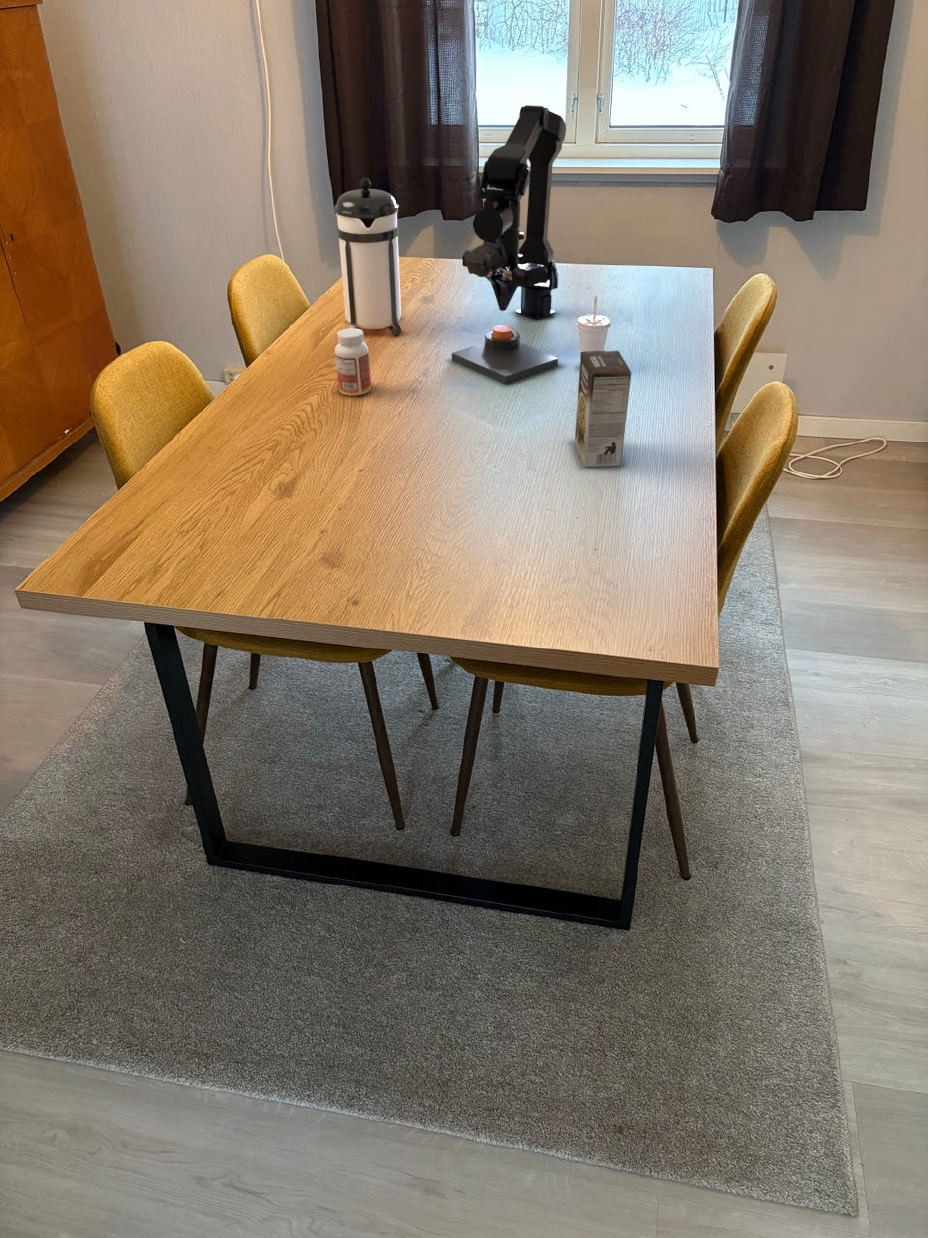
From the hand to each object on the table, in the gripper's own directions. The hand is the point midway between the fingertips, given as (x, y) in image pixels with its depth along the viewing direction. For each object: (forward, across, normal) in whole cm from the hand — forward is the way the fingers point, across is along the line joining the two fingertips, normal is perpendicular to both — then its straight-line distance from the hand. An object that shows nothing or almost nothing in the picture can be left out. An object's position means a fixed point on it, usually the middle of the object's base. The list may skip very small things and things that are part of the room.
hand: (502, 310), depth 187 cm
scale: (+9, +5, -4) cm, 11 cm away
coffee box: (+9, +44, -19) cm, 49 cm away
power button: (+5, 0, 0) cm, 5 cm away
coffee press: (+9, -30, -11) cm, 33 cm away
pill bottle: (+9, -4, -34) cm, 35 cm away
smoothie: (+9, +18, +7) cm, 21 cm away
